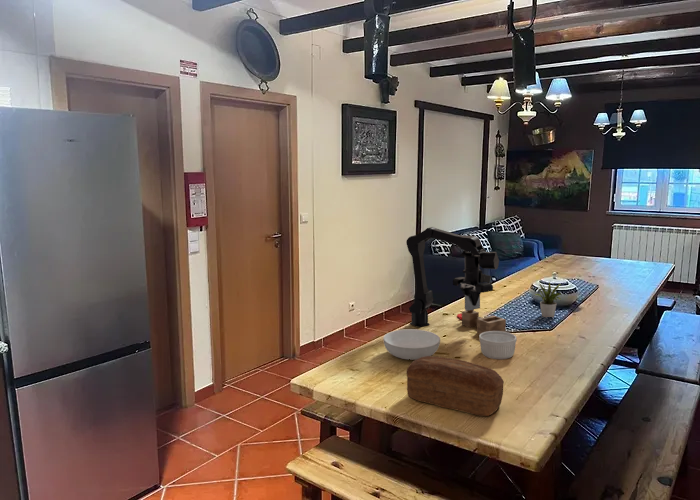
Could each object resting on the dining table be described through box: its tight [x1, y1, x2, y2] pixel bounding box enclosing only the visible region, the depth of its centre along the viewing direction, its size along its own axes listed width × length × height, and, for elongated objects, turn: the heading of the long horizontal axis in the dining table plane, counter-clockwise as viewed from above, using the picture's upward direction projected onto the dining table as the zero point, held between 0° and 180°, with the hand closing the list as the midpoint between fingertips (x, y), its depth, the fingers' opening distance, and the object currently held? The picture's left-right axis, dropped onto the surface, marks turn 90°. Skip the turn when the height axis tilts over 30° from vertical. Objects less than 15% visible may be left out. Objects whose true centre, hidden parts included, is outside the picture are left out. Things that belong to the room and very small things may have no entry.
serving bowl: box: [382, 328, 441, 361], centre depth 195 cm, size 21×21×7 cm
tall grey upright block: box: [464, 294, 481, 311], centre depth 216 cm, size 6×2×6 cm, turn 117°
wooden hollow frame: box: [461, 309, 507, 335], centre depth 222 cm, size 9×19×9 cm, turn 28°
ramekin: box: [478, 331, 518, 360], centre depth 193 cm, size 13×13×7 cm
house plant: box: [531, 281, 563, 318], centre depth 237 cm, size 14×14×16 cm
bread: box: [406, 355, 504, 417], centre depth 156 cm, size 14×28×12 cm, turn 56°
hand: (472, 305), depth 216 cm, fingers closed on tall grey upright block, 2 cm apart
